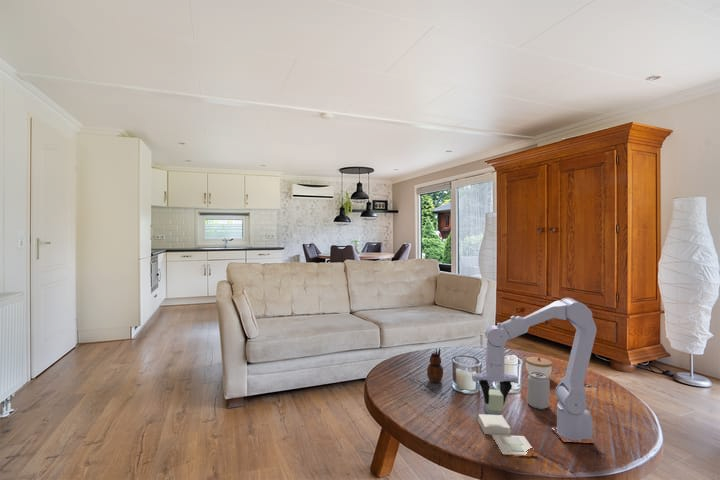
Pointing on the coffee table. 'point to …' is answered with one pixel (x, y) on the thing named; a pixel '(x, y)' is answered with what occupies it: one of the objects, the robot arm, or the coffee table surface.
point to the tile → (512, 444)
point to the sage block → (495, 400)
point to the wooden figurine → (435, 368)
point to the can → (538, 390)
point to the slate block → (490, 410)
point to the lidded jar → (538, 365)
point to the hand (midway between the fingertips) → (494, 403)
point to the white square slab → (493, 424)
